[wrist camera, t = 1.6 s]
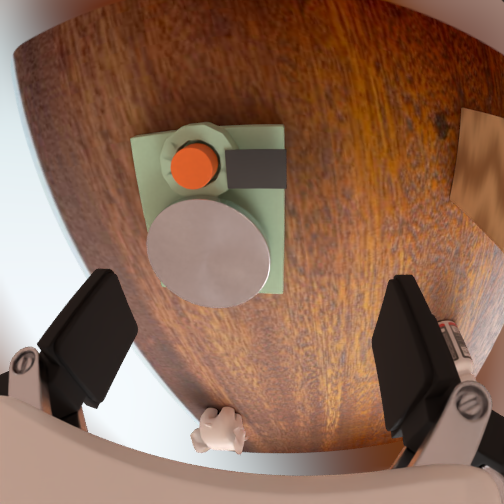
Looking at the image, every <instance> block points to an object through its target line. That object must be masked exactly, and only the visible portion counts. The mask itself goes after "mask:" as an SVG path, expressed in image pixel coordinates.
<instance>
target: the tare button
mask: <svg viewBox="0 0 504 504" xmlns="http://www.w3.org/2000/svg"><path fill="white" fill-rule="evenodd" d="M217 168H218V159H217V156H216V154H215V152H214V151H213V150H212V149H211V148H210V147H209V146H207V145H205V144H201V143H193V144H190V145H188V146H186V147H184V148H183V149H181V150H179V151H178V152H177V153H176V154H175V155H174V157H173V159H172V161H171V173H172V176H173V178H174V180H175V181H176V182H177V183H178V184H179V185H180V186H182V187H184V188H186V189H199V188H202V187H204V186H205V185H206V184H207V183H208V182H209V181H210V180H211V179H212V177H213V176H214V175H215V173H216V171H217Z"/></svg>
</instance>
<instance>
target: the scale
mask: <svg viewBox="0 0 504 504" xmlns="http://www.w3.org/2000/svg"><path fill="white" fill-rule="evenodd" d="M130 140H131V147H132V153H133V160H134V166H135V171H136V177H137V183H138V188H139V193H140V198H141V203H142V208H143V213H144V217H145V222H146V226H147V231H148V232H149V229H150V227H151V224H152V223H153V221H154V219H155V218H156V217H157V216H158V215H159V213H160V212H161V211H162V210H163V209H164V208H165V207H167V206H168V205H169V204H171V203H172V202H174V201H176V200H178V199H181V198H184V197H188V196H193V195H210V196H216V197H220V198H223V199H226V200H229V201H231V202H233V203H235V204H237V205H239V206H240V207H242V208H243V209H245V210H246V211H247V212H249V213H250V214H251V215H252V216H253V217H254V218H255V219H256V220H257V222H258V223H259V224H260V225H261V227H262V228H263V230H264V232H265V234H266V236H267V238H268V241H269V244H270V248H271V266H270V272H269V276H268V279H267V281H266V283H265V285H264V286H263V288H262V289H261V290H260V291H259V293H272V294H283V283H284V233H285V189H228V186H227V173H226V160H225V150H235V149H284V125H283V124H257V125H230V126H217V125H215V124H213V123H210V122H203V123H192V124H188V125H185V126H183V127H181V128H180V129H178V130H172V131H164V132H157V133H150V134H143V135H137V136H135V137H132V138H130ZM193 143H201V144H205V145H207V146H209V147H210V148H211V149H212V150H213V151H214V152H215V154H216V156H217V159H218V168H217V171H216V173H215V175H214V176H213V177H212V179H211V180H210V181H209V182H208V183H207V184H206V185H205V186H204V187H202V188H199V189H186V188H184V187H182V186H180V185H179V184H178V183H177V182H176V181H175V180H174V178H173V176H172V173H171V161H172V159H173V157H174V155H175V154H176V153H177V152H178V151H179V150H181V149H183V148H184V147H186V146H188V145H190V144H193ZM161 285H162V287H166V286H165V285H164V284H163V283H162V282H161Z"/></svg>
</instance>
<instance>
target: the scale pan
mask: <svg viewBox="0 0 504 504" xmlns="http://www.w3.org/2000/svg"><path fill="white" fill-rule="evenodd" d="M225 160H226V173H227V186H228V189H286V188H287V170H286V149H235V150H225ZM147 254H148V258H149V261H150V264H151V266H152V268H153V270H154V272H155V274H156V275H157V277H158V278H159V279H160V281H161V282H162V283H163V284H164V285H165V286H166V287H167V288H168V289H169V290H170V291H172V292H173V293H174V294H176V295H177V296H179V297H180V298H182V299H184V300H186V301H188V302H191V303H193V304H196V305H199V306H204V307H210V308H228V307H233V306H237V305H240V304H242V303H244V302H247V301H248V300H250V299H251V298H253V297H254V296H255V295H256V294H258V293H259V291H260V290H261V289H262V288H263V286H264V285H265V283H266V281H267V279H268V276H269V272H270V266H271V248H270V244H269V241H268V238H267V236H266V234H265V232H264V230H263V228H262V227H261V225H260V224H259V223H258V222H257V220H256V219H255V218H254V217H253V216H252V215H251V214H250V213H249V212H247V211H246V210H245V209H243V208H242V207H240V206H239V205H237V204H235V203H233V202H231V201H229V200H226V199H223V198H220V197H216V196H210V195H193V196H188V197H184V198H181V199H178V200H176V201H174V202H172V203H171V204H169V205H168V206H167V207H165V208H164V209H163V210H162V211H161V212H160V213H159V215H158V216H157V217H156V218H155V219H154V221H153V223H152V224H151V227H150V229H149V232H148V236H147Z"/></svg>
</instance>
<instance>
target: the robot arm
mask: <svg viewBox="0 0 504 504" xmlns="http://www.w3.org/2000/svg"><path fill="white" fill-rule="evenodd" d="M137 332H138V326H137V324H136V321H135V319H134V317H133V314H132V312H131V310H130V307H129V305H128V303H127V300H126V298H125V295H124V293H123V290H122V288H121V285H120V282H119V280H118V277H117V275H116V274H114V272H113V271H112V270H111V269H96V270H95V271H94V272H93V273H92V274H91V276H90V277H89V278H88V279H87V280H86V282H85V283H84V284H83V285H82V286H81V287H80V289H79V290H78V291H77V292H76V294H75V295H74V296H73V297H72V298H71V300H70V301H69V302H68V303H67V305H66V306H65V307H64V309H63V310H62V311H61V312H60V313H59V315H58V316H57V318H56V319H55V320H54V321H53V323H52V324H51V325H50V327H49V328H48V329H47V331H46V332H45V333H44V335H43V336H42V338H41V339H40V340H39V342H38V343H37V345H38V347H39V348H40V349H41V352H40V353H38V351H37V350H36V349H35V348H33V347H25V348H23V349H21V350H20V351H18V352H17V353H16V354H15V355H14V357H13V358H12V360H11V362H10V367H9V371H8V372H5V373H3V374H1V375H0V504H504V417H503V416H501V415H499V414H498V413H496V412H495V411H493V410H491V409H492V399H491V396H490V394H489V392H488V391H487V389H486V388H485V386H483V385H482V384H480V383H479V382H476V381H473V380H467V381H464V382H461V380H460V377H459V374H458V371H457V369H456V366H455V363H454V361H453V358H452V355H451V353H450V350H449V348H448V345H447V343H446V340H445V338H444V336H443V333H442V331H441V329H440V326H439V324H438V322H437V320H436V318H435V316H434V315H433V314H431V311H430V309H429V307H428V305H427V303H426V301H425V299H424V296H423V294H422V292H421V290H420V288H419V286H418V284H417V282H416V280H415V278H414V277H413V275H395V276H394V278H393V279H391V280H389V282H388V285H387V289H386V293H385V296H384V300H383V304H382V307H381V311H380V314H379V317H378V321H377V324H376V327H375V330H374V333H373V337H372V349H373V353H374V358H375V364H376V369H377V374H378V380H379V386H380V392H381V398H382V404H383V411H384V418H385V426H386V429H387V431H391V436H392V438H398V437H403V443H404V446H405V447H404V448H403V450H402V451H401V453H400V454H399V456H398V457H397V459H396V460H395V461H394V463H393V464H392V466H391V467H390V468H389V470H383V471H376V472H367V473H357V474H344V475H325V476H323V475H322V476H285V475H282V476H281V475H266V474H253V473H243V472H235V471H227V470H220V469H214V468H208V467H202V466H197V465H192V464H187V463H182V462H178V461H174V460H170V459H166V458H161V457H158V456H155V455H151V454H147V453H144V452H141V451H137V450H134V449H131V448H128V447H125V446H122V445H119V444H116V443H114V442H111V441H108V440H106V439H103V438H100V437H98V436H95V435H93V434H91V433H88V430H87V426H86V422H85V418H84V414H83V410H82V404H83V402H84V403H85V404H86V405H88V406H90V407H93V408H96V409H97V408H98V406H99V404H100V403H101V402H103V400H104V399H105V397H106V395H107V392H108V390H109V388H110V386H111V384H112V382H113V380H114V378H115V376H116V374H117V372H118V370H119V368H120V366H121V364H122V362H123V360H124V358H125V356H126V354H127V352H128V350H129V349H130V347H131V345H132V343H133V341H134V339H135V337H136V335H137Z"/></svg>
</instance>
